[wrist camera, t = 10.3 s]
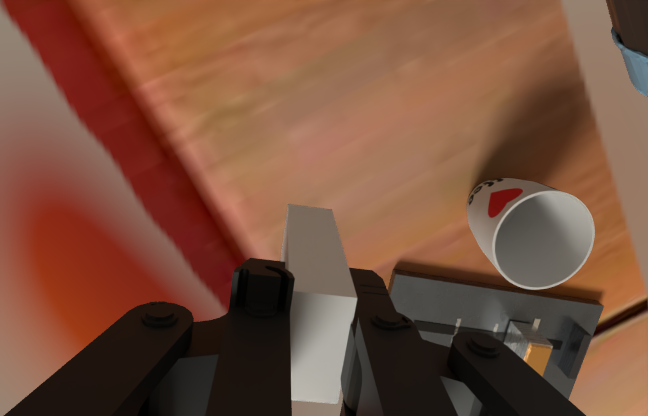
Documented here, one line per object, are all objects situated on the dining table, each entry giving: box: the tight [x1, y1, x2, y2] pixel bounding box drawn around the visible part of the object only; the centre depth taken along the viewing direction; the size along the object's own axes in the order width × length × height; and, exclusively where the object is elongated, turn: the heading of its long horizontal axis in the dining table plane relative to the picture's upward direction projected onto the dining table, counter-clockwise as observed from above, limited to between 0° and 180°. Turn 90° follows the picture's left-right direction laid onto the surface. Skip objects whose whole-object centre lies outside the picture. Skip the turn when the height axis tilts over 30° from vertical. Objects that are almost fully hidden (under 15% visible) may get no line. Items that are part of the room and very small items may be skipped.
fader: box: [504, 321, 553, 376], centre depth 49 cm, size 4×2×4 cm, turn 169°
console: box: [388, 269, 604, 399], centre depth 52 cm, size 20×22×3 cm
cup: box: [467, 178, 595, 290], centre depth 44 cm, size 8×8×10 cm
